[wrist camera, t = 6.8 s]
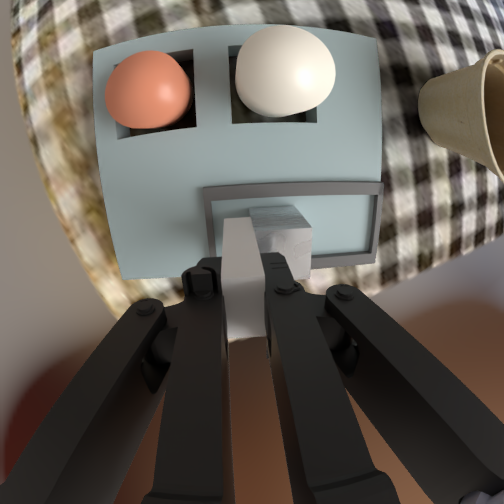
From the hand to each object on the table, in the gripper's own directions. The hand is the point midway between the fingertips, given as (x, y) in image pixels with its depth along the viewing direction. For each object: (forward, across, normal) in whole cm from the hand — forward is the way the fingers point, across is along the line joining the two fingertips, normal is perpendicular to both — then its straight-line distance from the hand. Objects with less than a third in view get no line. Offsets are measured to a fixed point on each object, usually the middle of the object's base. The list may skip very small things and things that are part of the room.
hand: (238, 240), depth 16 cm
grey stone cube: (+2, +2, 0) cm, 3 cm away
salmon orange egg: (+4, -5, +9) cm, 11 cm away
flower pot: (+4, +17, +9) cm, 20 cm away
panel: (+4, 0, +5) cm, 7 cm away
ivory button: (+2, +2, +9) cm, 9 cm away
